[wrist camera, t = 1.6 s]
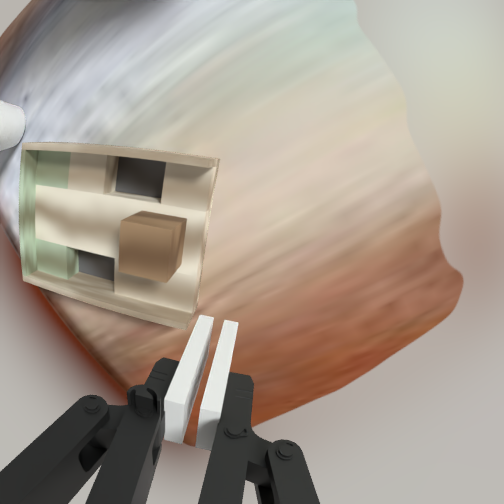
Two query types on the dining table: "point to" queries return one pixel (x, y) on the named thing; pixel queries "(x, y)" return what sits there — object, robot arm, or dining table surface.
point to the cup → (11, 125)
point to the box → (111, 223)
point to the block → (151, 245)
